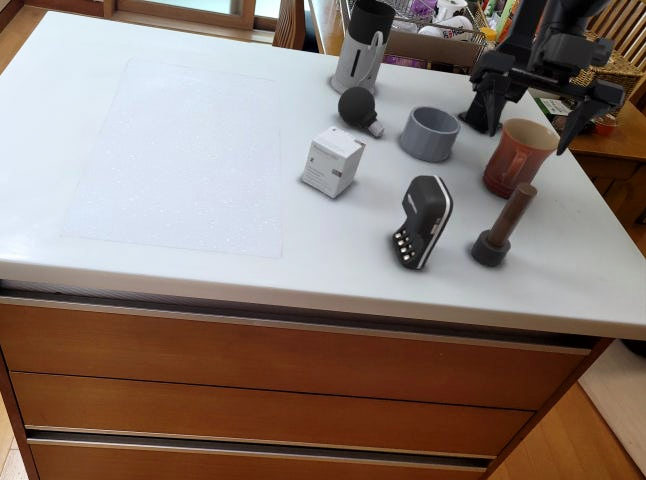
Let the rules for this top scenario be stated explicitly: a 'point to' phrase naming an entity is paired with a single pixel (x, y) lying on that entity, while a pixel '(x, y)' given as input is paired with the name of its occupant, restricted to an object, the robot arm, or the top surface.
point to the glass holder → (363, 45)
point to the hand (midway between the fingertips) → (525, 145)
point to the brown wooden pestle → (503, 227)
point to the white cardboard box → (333, 161)
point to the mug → (518, 155)
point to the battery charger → (422, 219)
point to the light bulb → (360, 109)
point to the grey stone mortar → (430, 133)
